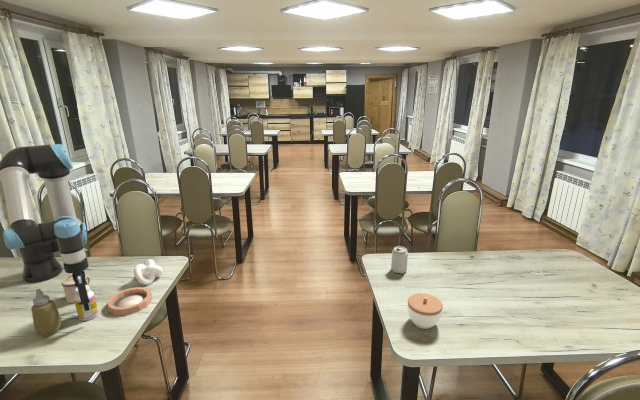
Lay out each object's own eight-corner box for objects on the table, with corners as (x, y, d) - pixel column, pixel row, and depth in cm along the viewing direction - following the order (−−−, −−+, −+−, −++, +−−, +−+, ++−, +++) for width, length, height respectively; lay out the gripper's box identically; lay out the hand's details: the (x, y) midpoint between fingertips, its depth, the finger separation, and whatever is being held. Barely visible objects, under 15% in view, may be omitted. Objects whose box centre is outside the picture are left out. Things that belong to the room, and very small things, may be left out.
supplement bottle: (94, 320, 135) (87, 291, 132) (75, 322, 134) (68, 293, 130) (101, 310, 142) (95, 282, 138) (83, 311, 141) (76, 284, 137)
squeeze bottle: (33, 341, 124) (20, 298, 119) (40, 328, 131) (28, 286, 126) (60, 335, 127) (48, 292, 122) (66, 322, 134) (54, 281, 129)
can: (390, 266, 175) (392, 244, 171) (405, 267, 174) (407, 245, 170) (391, 274, 168) (392, 251, 164) (407, 275, 167) (409, 252, 163)
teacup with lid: (80, 304, 146) (73, 280, 142) (60, 302, 147) (54, 278, 143) (101, 289, 157) (95, 266, 153) (82, 287, 158) (77, 264, 154)
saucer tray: (106, 301, 147) (105, 295, 147) (147, 288, 157) (146, 283, 156) (112, 320, 135) (111, 314, 134) (156, 305, 145) (155, 299, 144)
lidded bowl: (403, 312, 139) (405, 288, 136) (434, 313, 139) (437, 288, 135) (410, 333, 127) (412, 307, 124) (444, 334, 127) (447, 308, 123)
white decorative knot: (149, 289, 156) (145, 272, 153) (128, 285, 160) (125, 267, 157) (167, 277, 166) (164, 260, 164) (147, 273, 170) (144, 256, 167)
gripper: (90, 269, 123) (102, 320, 130) (83, 246, 142) (94, 291, 148) (64, 276, 119) (78, 328, 125) (61, 251, 138) (73, 297, 144)
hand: (87, 308), depth 137 cm, fingers open, 13 cm apart
